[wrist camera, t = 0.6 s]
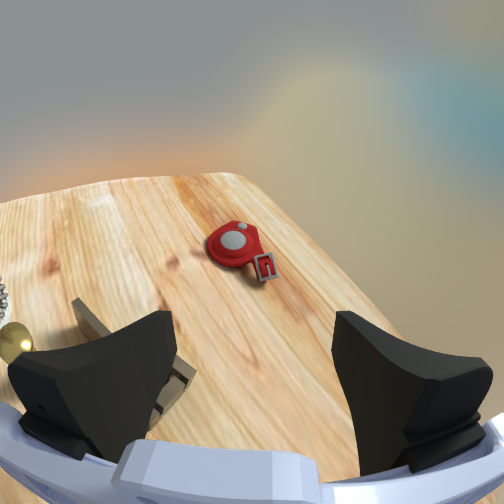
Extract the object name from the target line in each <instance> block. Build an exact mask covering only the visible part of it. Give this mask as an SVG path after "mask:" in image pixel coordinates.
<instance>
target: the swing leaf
mask: <svg viewBox="0 0 504 504" xmlns="http://www.w3.org/2000/svg"><path fill="white" fill-rule="evenodd" d="M71 304H72V307H73V310H74V314H75V317H76V320H77V323H78V326H79V328H80V329H81V330H82V331H83V332H84V333H85V335H86V336H87V337H88V338H89V339H90V340H91V341H94V340H97V339H100V338H103V337H105V336H107V335H110V334H112V333H111V332H110V331H109V330H108V329H107V328H106V327H105V326H104V325H103V324H102V323H101V322H100V321H99V320H98V318H97V317H96V316H95V315H94V314H93V313H92V312H91V311H90V310H89V309H88V307H87V306H86V305H85V304H84V303H83V302H82V301H81V300H80V298H79V297H78V298H77V299H75V300H74V301H72V302H71ZM196 372H197V370H195V369H194V368H193V367H191V366H190V365H189V364H188V363H186V362H185V361H184V360H182V359H181V358H180V357H179V356H177V355H176V356H175V359H174V363H173V366H172V368H171V371H170V373H169V375H170V376H171V377H173V378H172V379H171V380H170V381H169V382H168V383H167V384H166V385H165V386H164V388H163V389H162V390H161V392H160V394H159V396H158V398H157V401H156V403H155V406H154V407H155V408H156V409H157V410H159V411H160V412H161V413H162V414H163V413H164V412H165V410H166V409H167V408H168V407H169V406H170V405H171V404H172V403H173V401H174V400H175V399H176V398H177V397H178V396H179V395H180V393H181V392H182V390H183V388H184V387H185V388H186V386H187V385H188V384H189V383H190V382H191V381H192V380H193V378H194V376H195V374H196ZM157 410H155V409H154V408H153V411H152V414H151V418H150V421H149V424H148V425H149V426H150V427H151V426H152V425H153V424H154V423H155V422H156V420H157V419H158V418H159V414H160V413H159V412H158V411H157Z"/></svg>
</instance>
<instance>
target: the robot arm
mask: <svg viewBox="0 0 504 504" xmlns="http://www.w3.org/2000/svg"><path fill="white" fill-rule="evenodd" d="M176 352H177V344H176V338H175V333H174V327H173V320H172V314H171V311H162V310H158V311H155V312H153V313H151V314H149V315H147V316H145V317H143V318H141V319H140V320H138V321H136V322H134V323H132V324H130V325H128V326H126V327H124V328H122V329H120V330H118V331H116V332H114V333H112V334H110V335H107V336H105V337H103V338H100V339H97V340H94V341H92V342H88V343H85V344H81V345H77V346H73V347H69V348H63V349H57V350H49V351H25V352H23V353H21V354H20V355H19V356H18V357H17V358H16V359H15V360H14V361H12V362H11V363H10V364H9V366H8V377H9V380H10V382H11V384H12V387H13V388H14V390H15V392H16V394H17V395H18V397H19V399H20V400H21V402H22V404H23V405H24V407H25V409H26V410H27V411H26V412H25V414H24V415H22V414H21V413H20V412H19V411H18V410H17V409H15V408H14V407H12V406H10V405H9V404H7V403H6V402H4V401H2V402H1V403H0V466H1V467H2V468H3V469H4V470H5V471H6V472H7V473H8V474H9V475H10V476H11V477H13V478H14V479H15V480H17V481H18V482H19V483H21V484H22V485H23V486H25V487H26V488H27V489H29V490H30V491H32V492H33V493H35V494H36V495H37V496H39V497H40V498H42V499H43V500H45V501H46V502H48V503H50V504H474V503H475V502H477V501H478V500H480V499H481V498H483V497H484V496H486V495H487V494H489V493H490V492H492V491H493V490H495V489H496V488H497V487H498V486H499V485H500V484H502V483H503V482H504V412H502V413H501V414H499V415H497V416H496V417H494V418H492V419H490V420H488V421H487V422H486V423H485V424H484V425H482V426H480V424H479V423H478V421H479V420H480V418H481V415H480V414H479V412H478V411H477V410H478V408H479V406H480V404H481V403H482V401H483V399H484V398H485V396H486V394H487V392H488V391H489V388H490V386H491V383H492V379H493V371H492V369H491V368H490V367H489V366H488V365H487V363H486V362H485V361H484V360H483V359H482V358H479V357H462V356H454V355H448V354H443V353H438V352H434V351H431V350H427V349H424V348H421V347H418V346H415V345H412V344H409V343H408V342H405V341H403V340H401V339H398V338H396V337H394V336H393V335H391V334H389V333H387V332H385V331H383V330H382V329H380V328H378V327H376V326H375V325H373V324H372V323H370V322H368V321H367V320H365V319H364V318H362V317H360V316H359V315H357V314H355V313H354V312H352V311H336V319H335V327H334V334H333V341H332V348H331V352H332V357H333V361H334V366H335V369H336V372H337V375H338V378H339V381H340V383H341V386H342V389H343V391H344V394H345V397H346V399H347V402H348V405H349V408H350V412H351V416H352V421H353V425H354V430H355V436H356V442H357V449H358V457H359V466H360V477H358V478H352V479H347V480H341V481H334V482H327V483H320V481H319V474H318V469H317V465H316V462H315V460H312V459H310V458H308V457H305V456H303V455H301V454H299V453H296V452H288V451H277V450H240V449H223V448H211V447H201V446H193V445H186V444H179V443H173V442H167V441H161V440H145V436H146V432H147V428H148V424H149V421H150V418H151V414H152V411H153V408H154V406H155V403H156V401H157V398H158V396H159V394H160V392H161V390H162V388H163V386H164V384H165V381H166V379H167V377H168V375H169V373H170V371H171V368H172V366H173V363H174V359H175V356H176Z"/></svg>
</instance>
